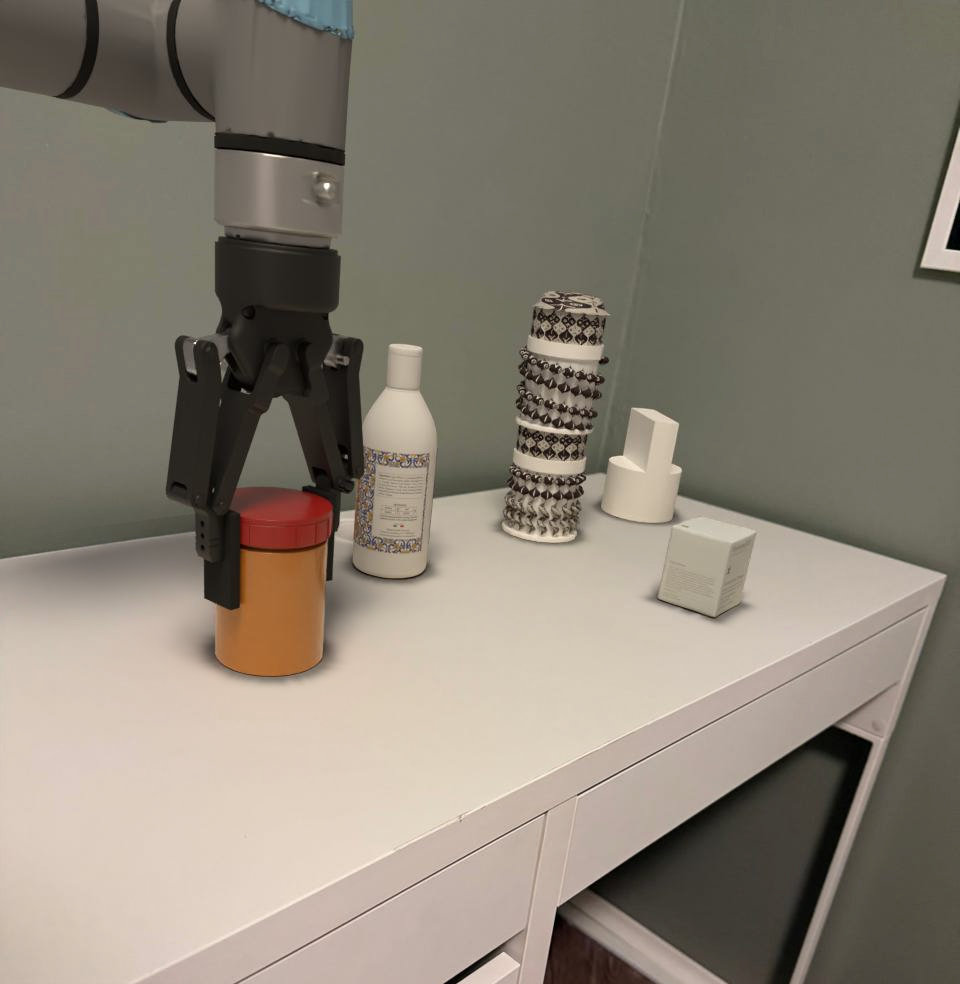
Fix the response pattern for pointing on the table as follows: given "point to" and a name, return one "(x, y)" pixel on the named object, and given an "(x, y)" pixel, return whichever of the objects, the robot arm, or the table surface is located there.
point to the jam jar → (275, 612)
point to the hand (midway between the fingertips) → (271, 588)
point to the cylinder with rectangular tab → (644, 470)
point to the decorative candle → (555, 416)
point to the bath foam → (396, 474)
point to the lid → (281, 517)
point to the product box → (706, 565)
